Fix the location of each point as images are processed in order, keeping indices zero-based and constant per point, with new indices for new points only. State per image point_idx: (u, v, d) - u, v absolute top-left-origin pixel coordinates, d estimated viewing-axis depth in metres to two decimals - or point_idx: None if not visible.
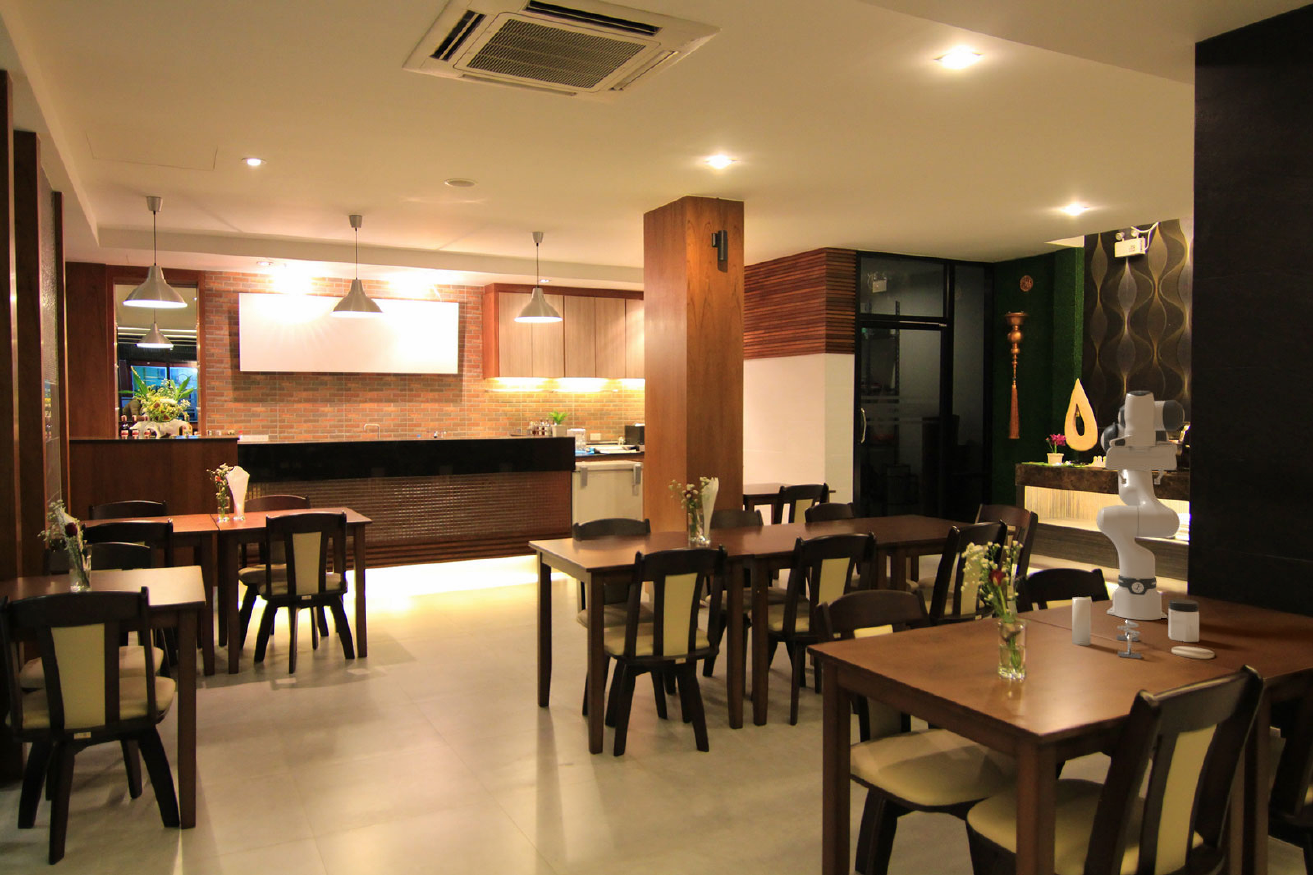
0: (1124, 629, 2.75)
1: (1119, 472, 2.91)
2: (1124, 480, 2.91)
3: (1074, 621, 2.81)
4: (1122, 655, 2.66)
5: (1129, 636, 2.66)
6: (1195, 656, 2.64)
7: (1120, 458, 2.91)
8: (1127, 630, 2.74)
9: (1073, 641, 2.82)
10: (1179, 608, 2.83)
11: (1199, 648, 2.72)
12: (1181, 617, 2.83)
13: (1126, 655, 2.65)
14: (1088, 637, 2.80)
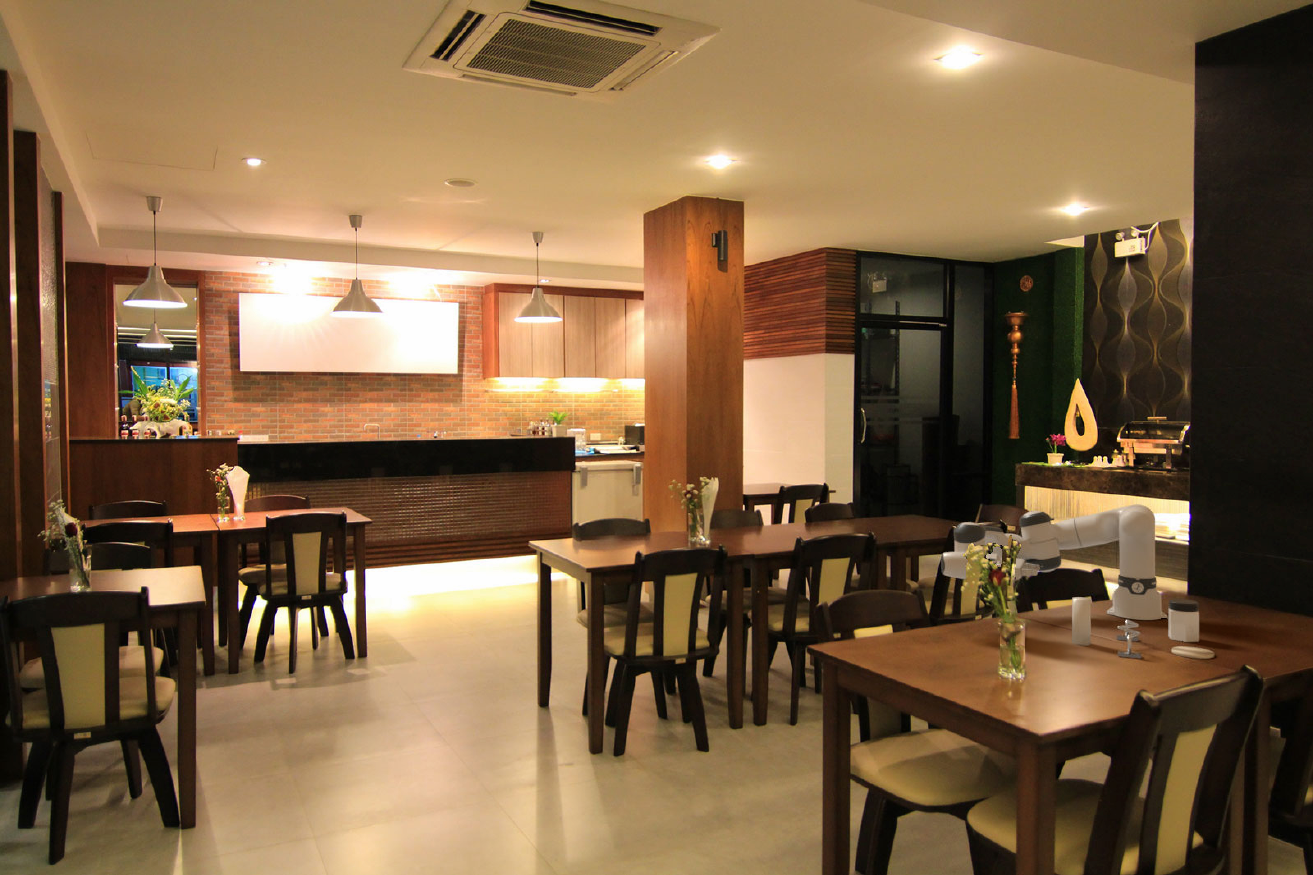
0: (1124, 629, 2.75)
1: (1024, 569, 2.83)
2: (1033, 569, 2.83)
3: (1074, 621, 2.81)
4: (1122, 655, 2.66)
5: (1129, 636, 2.66)
6: (1195, 656, 2.64)
7: None
8: (1127, 630, 2.74)
9: (1073, 641, 2.82)
10: (1180, 608, 2.83)
11: (1199, 648, 2.72)
12: (1181, 617, 2.83)
13: (1126, 655, 2.65)
14: (1088, 637, 2.80)
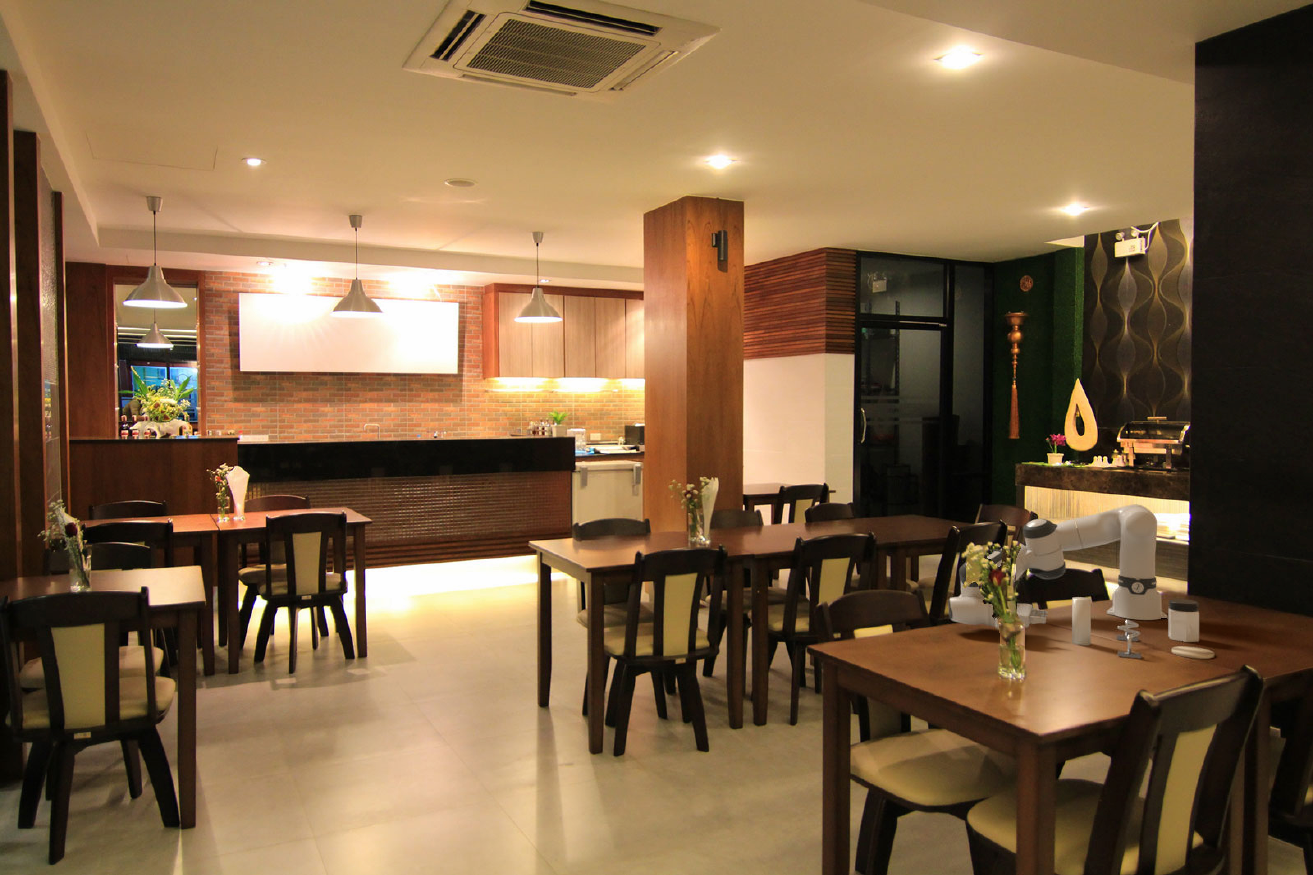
0: (1124, 629, 2.75)
1: (1032, 616, 2.82)
2: (1041, 616, 2.82)
3: (1074, 621, 2.81)
4: (1122, 655, 2.66)
5: (1129, 636, 2.66)
6: (1195, 656, 2.64)
7: (1017, 613, 2.84)
8: (1127, 630, 2.74)
9: (1073, 641, 2.82)
10: (1179, 608, 2.83)
11: (1199, 648, 2.72)
12: (1181, 617, 2.83)
13: (1126, 655, 2.65)
14: (1088, 637, 2.80)
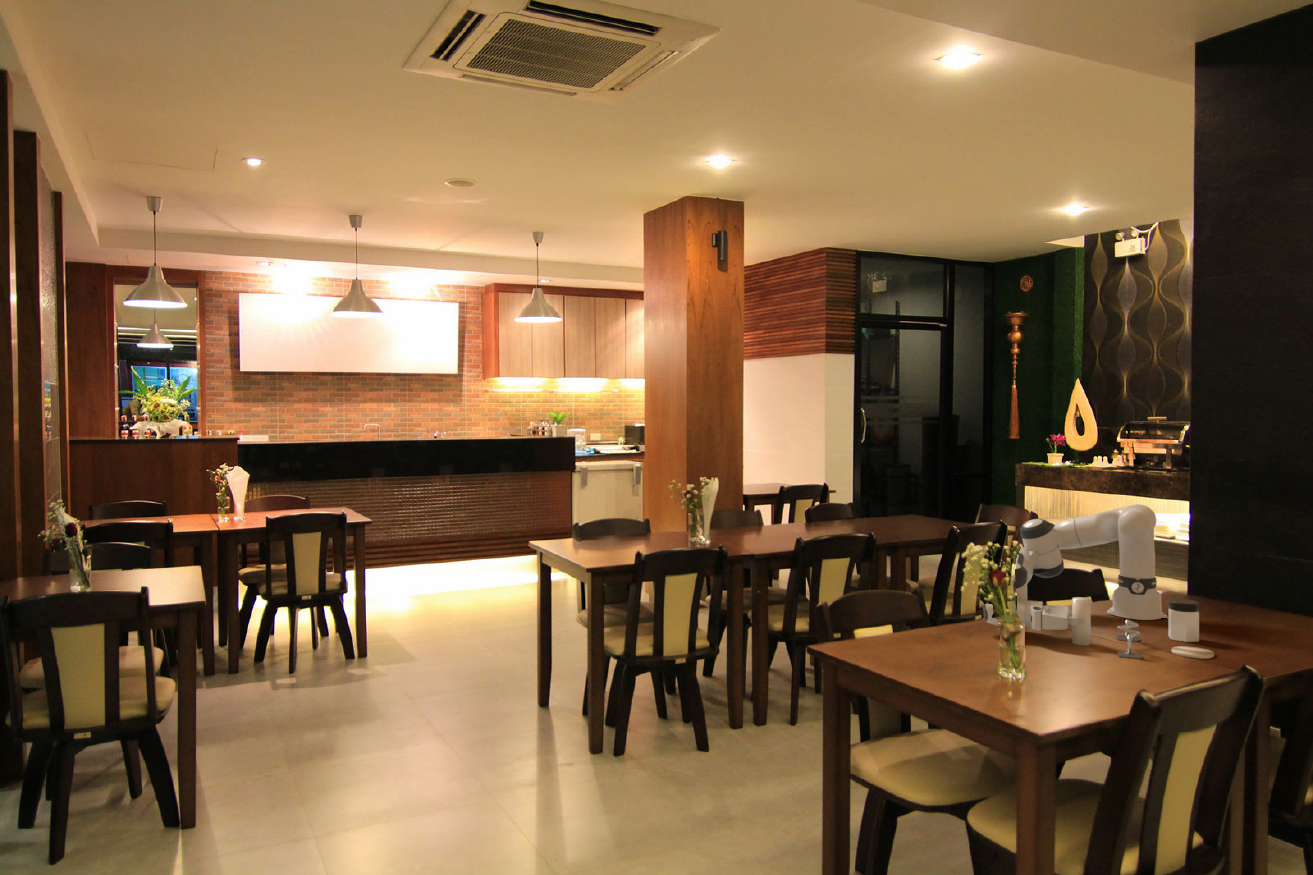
0: (1124, 629, 2.75)
1: (1071, 617, 2.79)
2: None
3: None
4: (1122, 655, 2.66)
5: (1129, 636, 2.66)
6: (1195, 656, 2.64)
7: (1054, 615, 2.80)
8: (1127, 630, 2.74)
9: (1073, 641, 2.82)
10: (1179, 608, 2.83)
11: (1199, 648, 2.72)
12: (1181, 617, 2.83)
13: (1126, 655, 2.65)
14: (1088, 637, 2.80)
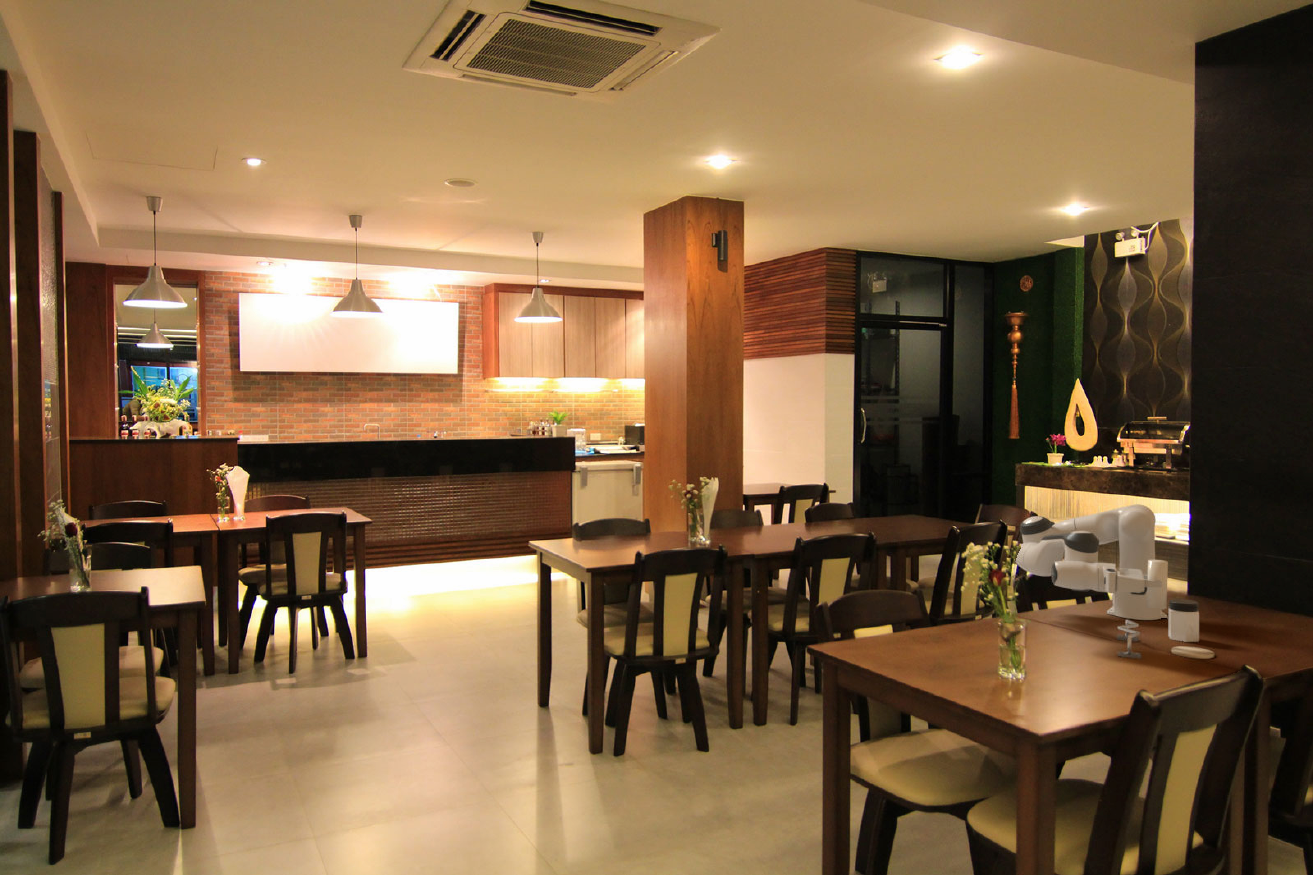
0: (1124, 629, 2.75)
1: (1147, 580, 2.67)
2: (1157, 580, 2.67)
3: None
4: (1122, 655, 2.66)
5: (1129, 636, 2.66)
6: (1195, 656, 2.64)
7: (1130, 577, 2.68)
8: (1127, 630, 2.74)
9: (1148, 605, 2.70)
10: (1179, 608, 2.83)
11: (1199, 648, 2.72)
12: (1181, 617, 2.83)
13: (1126, 655, 2.65)
14: (1164, 601, 2.68)
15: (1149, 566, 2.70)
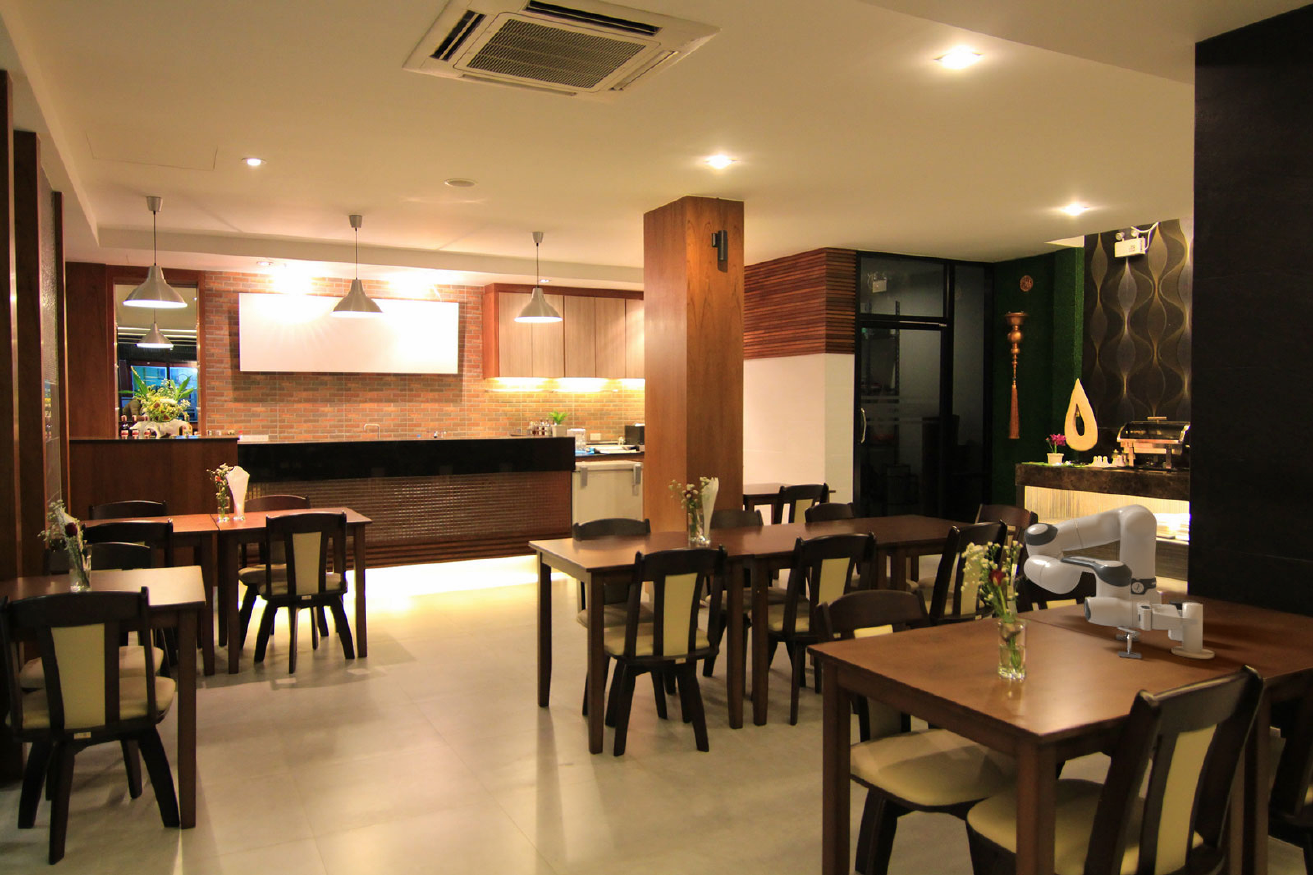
0: (1124, 629, 2.75)
1: (1183, 617, 2.65)
2: None
3: (1185, 627, 2.68)
4: (1122, 655, 2.66)
5: (1129, 636, 2.66)
6: (1195, 656, 2.64)
7: (1165, 614, 2.67)
8: (1127, 630, 2.74)
9: (1184, 648, 2.69)
10: (1179, 608, 2.83)
11: None
12: None
13: (1126, 655, 2.65)
14: (1200, 644, 2.66)
15: (1184, 609, 2.68)
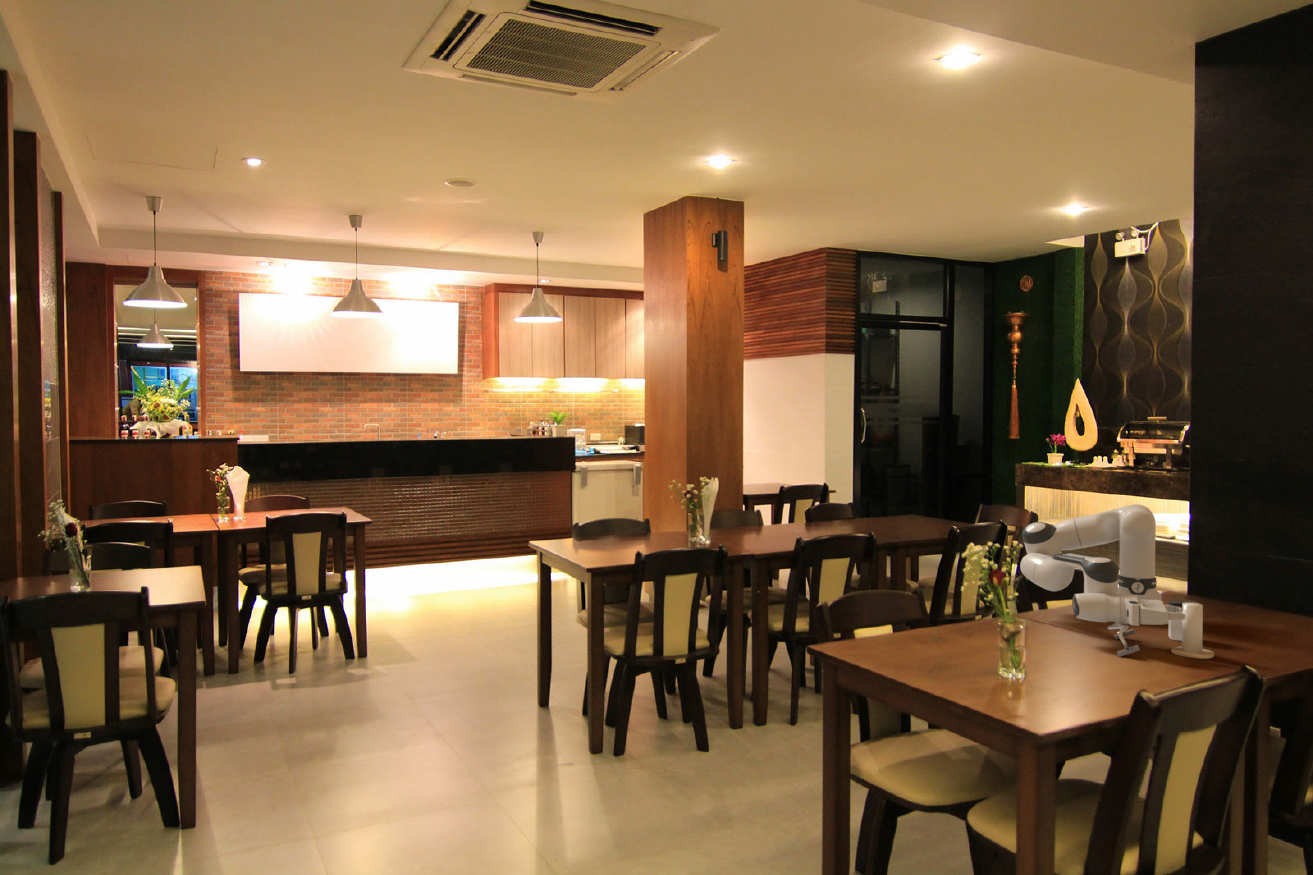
0: (1114, 627, 2.76)
1: (1170, 612, 2.66)
2: (1180, 612, 2.66)
3: (1185, 628, 2.68)
4: (1122, 653, 2.66)
5: (1119, 633, 2.67)
6: (1195, 656, 2.64)
7: (1153, 609, 2.68)
8: (1117, 627, 2.75)
9: (1184, 649, 2.68)
10: None
11: None
12: None
13: (1125, 652, 2.65)
14: (1200, 644, 2.66)
15: (1184, 610, 2.68)
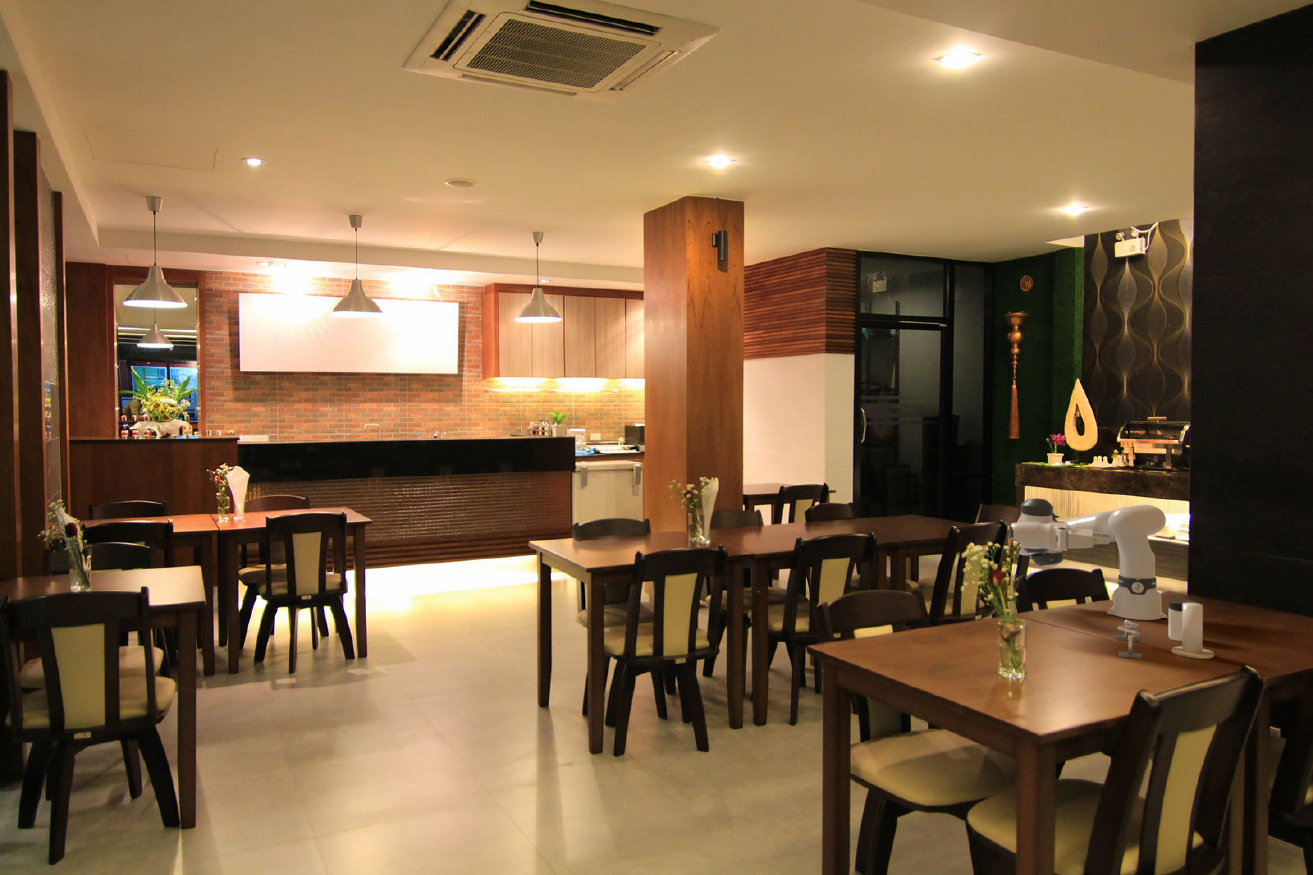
0: (1124, 629, 2.75)
1: (1096, 537, 2.82)
2: (1105, 537, 2.82)
3: (1185, 628, 2.68)
4: (1123, 655, 2.66)
5: (1130, 636, 2.66)
6: (1195, 656, 2.64)
7: None
8: (1127, 630, 2.73)
9: (1184, 649, 2.68)
10: (1179, 608, 2.83)
11: None
12: (1181, 617, 2.83)
13: (1127, 655, 2.65)
14: (1200, 644, 2.66)
15: (1184, 610, 2.68)
